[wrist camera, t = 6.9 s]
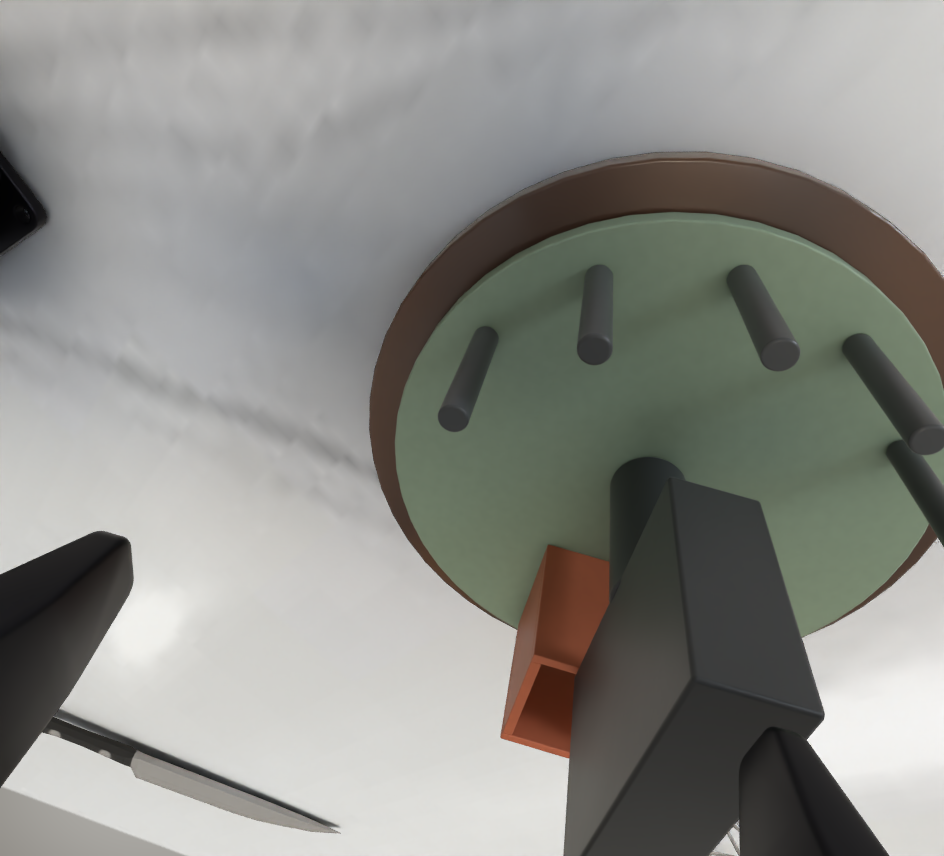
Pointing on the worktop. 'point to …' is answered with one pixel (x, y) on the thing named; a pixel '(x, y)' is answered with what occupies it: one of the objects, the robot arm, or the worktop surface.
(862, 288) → the drying rack
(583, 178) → the turntable base
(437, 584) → the worktop surface
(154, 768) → the chef's knife
